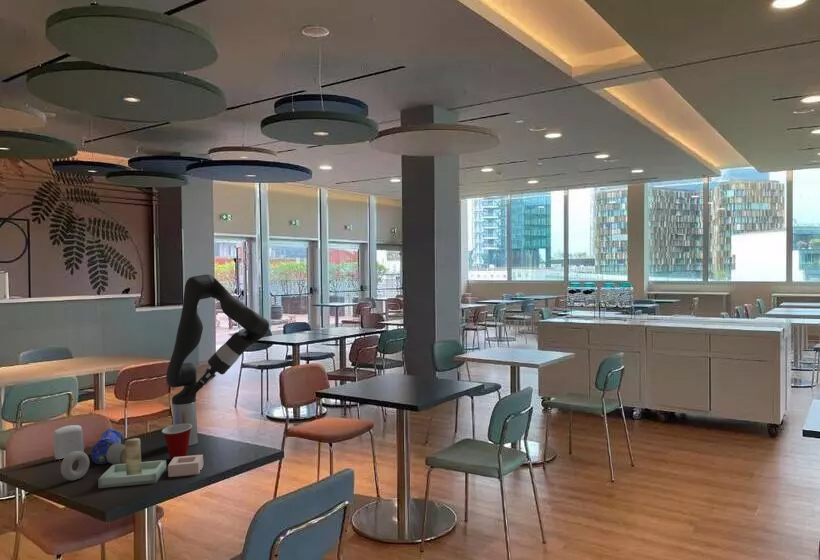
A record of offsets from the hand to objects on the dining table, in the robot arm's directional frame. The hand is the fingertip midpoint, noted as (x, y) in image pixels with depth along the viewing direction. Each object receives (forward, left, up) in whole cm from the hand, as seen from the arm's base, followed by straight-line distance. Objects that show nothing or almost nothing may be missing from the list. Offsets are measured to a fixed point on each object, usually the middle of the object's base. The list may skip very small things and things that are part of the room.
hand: (192, 392), depth 218 cm
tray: (+4, -20, -27) cm, 34 cm away
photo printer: (-31, -53, -28) cm, 67 cm away
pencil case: (-26, -37, -28) cm, 54 cm away
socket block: (+2, -3, -27) cm, 28 cm away
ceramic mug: (-15, -28, -28) cm, 43 cm away
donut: (0, -40, -28) cm, 49 cm away
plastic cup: (-15, -9, -28) cm, 33 cm away
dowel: (+4, -20, -26) cm, 33 cm away
